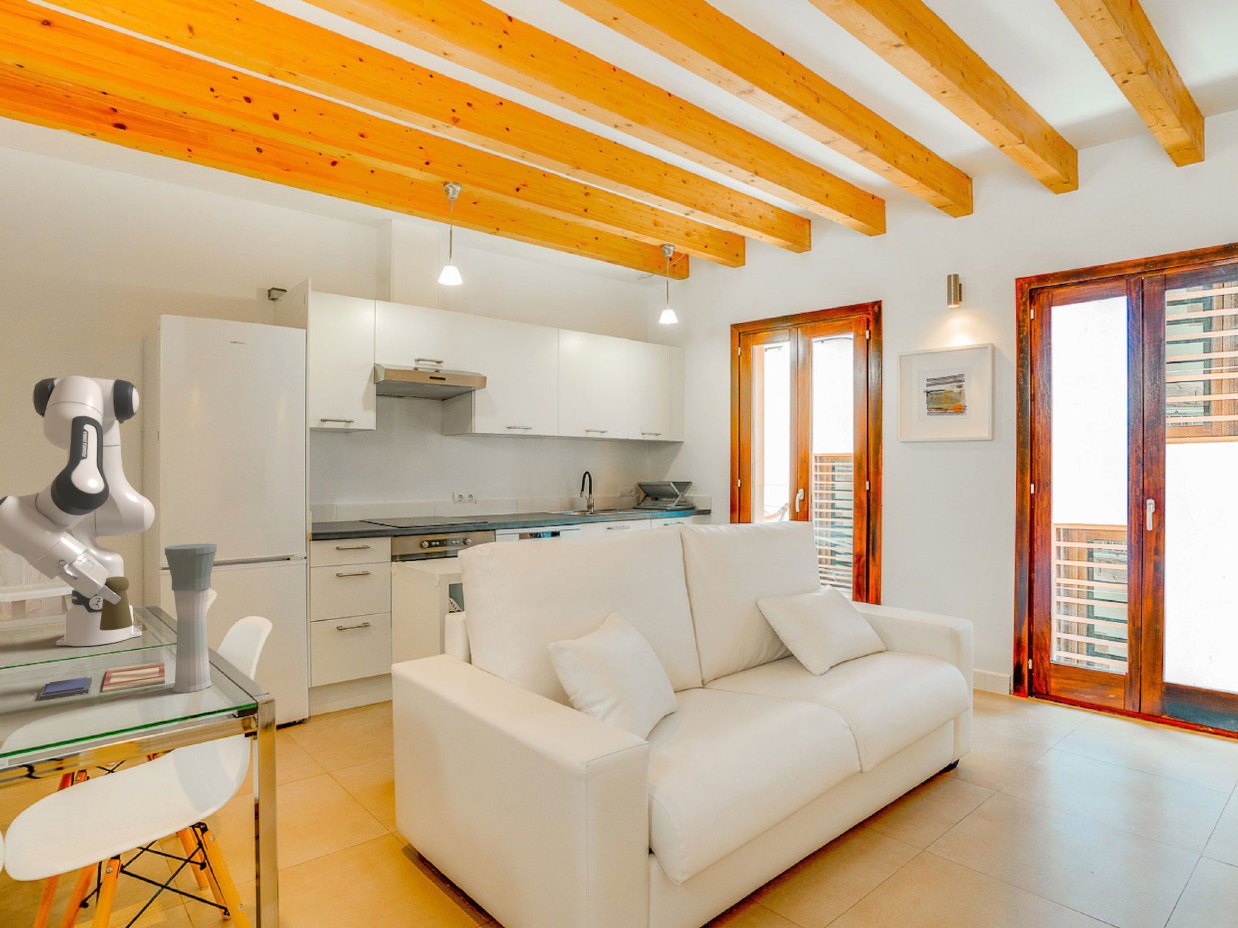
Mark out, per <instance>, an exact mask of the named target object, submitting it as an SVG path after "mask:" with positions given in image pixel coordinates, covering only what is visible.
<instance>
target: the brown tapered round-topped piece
mask: <svg viewBox="0 0 1238 928" xmlns="http://www.w3.org/2000/svg"><path fill="white" fill-rule="evenodd" d="M104 585H105V586H107V587H108V588H109V589H110V590H111V591H113V592H114V593H116V594H118V595H119V596H120V597H121V600H120V601H119V602H118V603H117V604H112V603H111V602H110V601H108V600H106V599H104V598H103V604H102V613H101V621H100V630H117V629H123V628H127V627H130V626H132V625H133V626H134V623H132V618H131V613H130V608H129V604H130V603H129V599H128V594H127V593H126V592H127V591H128V589H129V586H130V582H129V579H128V578H127V577H125V576H124V577H120V576H116V577H109V578H106V582H105V584H104Z"/></svg>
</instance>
